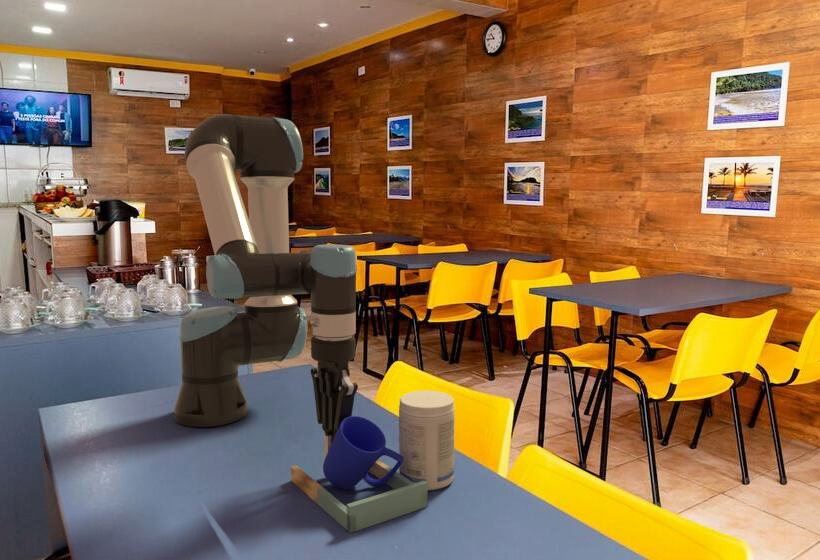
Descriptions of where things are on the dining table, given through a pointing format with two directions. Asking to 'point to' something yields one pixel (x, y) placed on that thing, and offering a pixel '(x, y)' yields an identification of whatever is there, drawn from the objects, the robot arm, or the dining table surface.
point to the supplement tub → (427, 438)
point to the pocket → (376, 504)
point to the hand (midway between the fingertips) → (333, 467)
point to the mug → (357, 453)
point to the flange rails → (311, 485)
